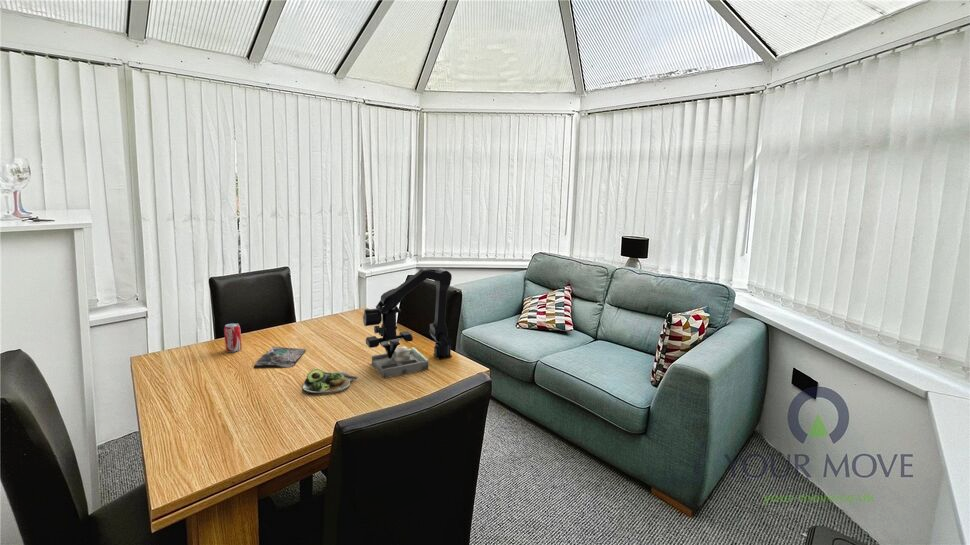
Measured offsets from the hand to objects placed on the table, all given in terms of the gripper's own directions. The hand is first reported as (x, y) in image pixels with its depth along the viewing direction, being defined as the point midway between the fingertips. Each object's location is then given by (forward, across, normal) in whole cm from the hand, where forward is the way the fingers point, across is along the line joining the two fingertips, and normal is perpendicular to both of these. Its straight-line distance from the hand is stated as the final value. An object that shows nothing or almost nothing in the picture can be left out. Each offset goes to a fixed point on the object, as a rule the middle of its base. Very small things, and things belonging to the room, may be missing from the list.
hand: (389, 358), depth 184 cm
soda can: (+3, +56, -46) cm, 73 cm away
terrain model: (+4, +39, -27) cm, 47 cm away
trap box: (+3, -3, +4) cm, 6 cm away
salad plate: (+3, +27, +7) cm, 28 cm away
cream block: (+1, -5, 0) cm, 5 cm away
